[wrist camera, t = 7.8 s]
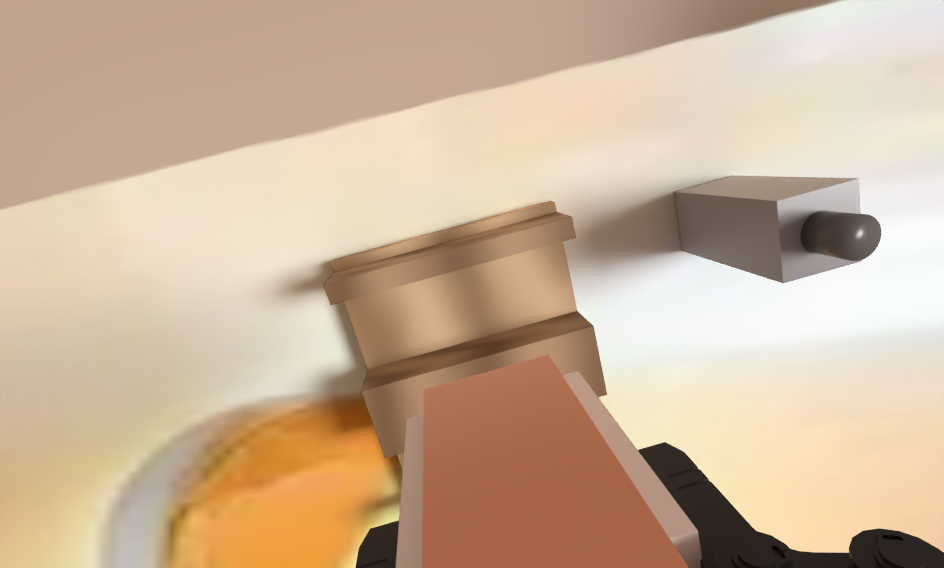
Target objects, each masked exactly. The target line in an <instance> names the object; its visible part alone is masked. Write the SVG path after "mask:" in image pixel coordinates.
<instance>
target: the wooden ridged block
mask: <svg viewBox="0 0 944 568" xmlns="http://www.w3.org/2000/svg"><path fill="white" fill-rule="evenodd" d="M574 238H576V236H575V231H574V226H573V220H572V217H571V216H568V215H565V214H561V213H558V212H557V211H556V206H555V202H552V201H549V202H546V203H542V204H538V205H534V206H531V207H527V208H523V209H520V210H516V211H512V212H509V213H505V214H501V215H498V216H494V217H490V218H486V219H483V220H479V221H475V222H472V223H468V224H464V225H461V226H457V227H453V228H450V229H446V230H442V231H438V232H435V233H431V234H427V235H424V236H420V237H416V238H413V239H409V240H405V241H402V242H398V243H394V244H391V245H387V246H383V247H379V248H376V249H372V250H368V251H365V252H361V253H357V254H354V255H350V256H346V257H343V258H339V259H335V260H333V261H332V262H331V266H332V268H333V271H334V273H333V274H332V275H331V276H330V278H329V279H328V280H327V281H326V282H325V283H324V284H323V285H324V288H325V291H326V293H327V296H328V299H329V302H330V305H333V304H336V303H340V302H344V303H345V306H346V309H347V312H348V315H349V317H350V320H351V323H352V326H353V329H354V332H355V335H356V338H357V341H358V343H359V346H360V349H361V352H362V355H363V358H364V361H365V364H366V367H367V369H368V370H367V373H366V377H365V380H364V384H363V387H362V391H361V392H362V395H363V397H364V400H365V403H366V406H367V409H368V412H369V414H370V417H371V420H372V423H373V426H374V428H375V431H376V434H377V437H378V440H379V442H380V445H381V448H382V451H383V454H384V457H385V458H388V457H391V456H394V455H397V456H398V459H399V462H400V465H401V468H402V470H403V463H404V450H405V437H406V423H407V419H409V418H412V417H416V416H419V415H423V414H424V389H428V388H432V387H435V386H439V385H442V384H446V383H449V382H453V381H456V380H460V379H463V378H467V377H470V376H474V375H478V374H481V373H485V372H488V371H492V370H495V369H499V368H502V367H506V366H509V365H513V364H517V363H520V362H524V361H527V360H531V359H534V358H538V357H541V356H545V355H548V354H549V356H550V357H551V359H552V360H553V362H554V363H555V365H556V366H557V368H558V369H559V371H560V372H561V374H562V375H565V374H568V373H572V372H575V371H579V373H580V374H581V375H582V377H583V378H584V379H585V381H586V382H587V383H588V385H589V386H590V387H591V389H592V390H593V391H594V393H595V394H596V395H597V397H600V396H604V395H607V392H606V387H605V382H604V377H603V372H602V367H601V362H600V357H599V352H598V347H597V342H596V337H595V332H594V327H593V325H592V324H591V323H589V322H588V321H587V320H586V319H585V318H584V317H583V316H582V315H581V314H580V313H579V312H578V311H577V308H576V303H575V298H574V294H573V289H572V284H571V279H570V274H569V269H568V265H567V260H566V255H565V250H564V245H563V241H566V240H570V239H574Z"/></svg>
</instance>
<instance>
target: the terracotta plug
mask: <svg viewBox="0 0 944 568" xmlns="http://www.w3.org/2000/svg"><path fill="white" fill-rule="evenodd" d="M422 568H689V567H688V566H687V564H686V563H685V561H684V560H683V558H682V557H681V555H680V554H679V552H678V551H677V549H676V547H675V546H674V544H673V543H672V541H671V540H670V538H669V537H668V535H667V534H666V532H665V531H664V529H663V528H662V526H661V525H660V523H659V522H658V520H657V519H656V517H655V516H654V514H653V512H652V511H651V509H650V508H649V506H648V505H647V503H646V502H645V500H644V499H643V497H642V496H641V494H640V493H639V491H638V490H637V488H636V487H635V485H634V484H633V482H632V481H631V479H630V477H629V476H628V474H627V473H626V471H625V470H624V468H623V467H622V465H621V464H620V462H619V461H618V459H617V458H616V456H615V455H614V453H613V452H612V450H611V449H610V447H609V446H608V444H607V442H606V441H605V439H604V438H603V436H602V435H601V433H600V432H599V430H598V429H597V427H596V426H595V424H594V423H593V421H592V420H591V418H590V417H589V415H588V414H587V412H586V411H585V409H584V407H583V406H582V404H581V403H580V401H579V400H578V398H577V397H576V395H575V394H574V392H573V391H572V389H571V388H570V386H569V385H568V383H567V382H566V380H565V379H564V377H563V376H562V374H561V372H560V371H559V369H558V368H557V366H556V365H555V363H554V362H553V360H552V359H551V357H550V356H549V354H548V355H545V356H541V357H538V358H534V359H531V360H527V361H524V362H520V363H517V364H513V365H509V366H506V367H502V368H499V369H495V370H492V371H488V372H485V373H481V374H478V375H474V376H470V377H467V378H463V379H460V380H456V381H453V382H449V383H446V384H442V385H439V386H435V387H432V388H428V389H424V440H423V556H422Z"/></svg>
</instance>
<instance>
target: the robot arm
mask: <svg viewBox="0 0 944 568" xmlns="http://www.w3.org/2000/svg"><path fill="white" fill-rule="evenodd" d="M562 376H563V377H564V379H565V380H566V382H567V383H568V385H569V386H570V388H571V389H572V391H573V392H574V394H575V395H576V397H577V398H578V400H579V401H580V403H581V404H582V406H583V407H584V409H585V411H586V412H587V414H588V415H589V417H590V418H591V420H592V421H593V423H594V424H595V426H596V427H597V429H598V430H599V432H600V433H601V435H602V436H603V438H604V439H605V441H606V442H607V444H608V446H609V447H610V449H611V450H612V452H613V453H614V455H615V456H616V458H617V459H618V461H619V462H620V464H621V465H622V467H623V468H624V470H625V471H626V473H627V474H628V476H629V477H630V479H631V481H632V482H633V484H634V485H635V487H636V488H637V490H638V491H639V493H640V494H641V496H642V497H643V499H644V500H645V502H646V503H647V505H648V506H649V508H650V509H651V511H652V512H653V514H654V516H655V517H656V519H657V520H658V522H659V523H660V525H661V526H662V528H663V529H664V531H665V532H666V534H667V535H668V537H669V538H670V540H671V541H672V543H673V544H674V546H675V547H676V549H677V551H678V552H679V554H680V555H681V557H682V558H683V560H684V561H685V563H686V564H687V566H688V567H689V568H944V553H943V552H942V551H941V550H939V549H938V548H936V547H934V546H932V545H930V544H929V543H927V542H925V541H923V540H922V539H920V538H918V537H915V536H912V535H909V534H906V533H903V532H900V531H894V530H886V529H873V530H866V531H862V532H861V533H859V534H857V535H856V536H854V537H853V538H852V541H851V544H850V547H849V553H812V552H801V551H796V550H792V549H790V548H789V547H788V546H787V545H786V544H784V543H783V542H781V541H779V540H778V539H776V538H774V537H772V536H771V535H767V534H764V533H761V532H757V531H756V530H755V529H753V528H752V527H751V525H750V524H749V523H748V522H747V521H746V520H745V519H744V518H743V517H742V516H741V514H740V513H739V512H738V511H737V510H736V509H735V508H734V507H733V506H732V505H731V503H730V502H729V501H728V500H727V499H726V498H725V497H724V496H723V495H722V493H721V492H720V491H719V490H718V489H717V488H716V487H715V486H714V485H713V484H712V482H709V480H708V478H707V477H706V476H705V475H704V474H703V473H702V471H701V470H698V468H697V466H696V465H695V464H694V463H693V461H692V460H691V459H690V458H689V457H688V456H687V455H686V454H685V453H684V452H683V451H681V450H679V449H677V448H675V447H673V446H671V445H669V444H668V443H666V442H664V443H661V444H657V445H654V446H650V447H647V448H643V449H640V450H637V449H636V447H635V446H634V445H633V443H632V442H631V441H630V439H629V438H628V437H627V435H626V434H625V433H624V431H623V430H622V429H621V427H620V426H619V425H618V423H617V422H616V421H615V419H614V418H613V417H612V415H611V414H610V413H609V411H608V410H607V409H606V407H605V406H604V405H603V403H602V402H601V401H600V399H599V398H598V397H597V395H596V394H595V393H594V391H593V390H592V389H591V387H590V386H589V385H588V383H587V382H586V381H585V379H584V378H583V377H582V375H581V374H580V373H579V371H575V372H572V373H568V374H565V375H562ZM423 440H424V414H423V415H419V416H416V417H412V418H409V419H407V423H406V437H405V450H404V463H403V476H402V490H401V503H400V516H399V521H395V522H392V523H388V524H385V525H382V526H378V527H375V528H371V529H370V530H369V532H368V534H367V535H366V537H365V539H364V540H363V542H362V544H361V546H360V547H359V552H358V557H357V563H356V568H422V556H423Z"/></svg>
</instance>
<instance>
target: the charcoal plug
mask: <svg viewBox="0 0 944 568" xmlns="http://www.w3.org/2000/svg"><path fill="white" fill-rule="evenodd" d="M674 196H675V203H676V211H677V218H678V225H679V232H680V240H681V247H682V251H684V252H687V253H690V254H693V255H697V256H700V257H703V258H706V259H709V260H712V261H715V262H719V263H722V264H725V265H728V266H731V267H734V268H737V269H741V270H744V271H747V272H750V273H753V274H756V275H759V276H763V277H766V278H769V279H772V280H775V281H778V282H781V283H786V282H789V281H793V280H796V279H800V278H803V277H807V276H810V275H814V274H818V273H821V272H825V271H828V270H832V269H835V268H839V267H842V266H846V265H850V264H853V263H857V262H860V261H862V259H864V258H866V257H868V256H869V255H870V254H872V253H873V251H874V250H875V249H876V247H877V246H878V244H879V241H880V238H881V227H880V224H879V222H878V221H877V220H876V219H875V218H874V217H872V216H870V215H865V214H860V193H859V179H857V178H811V177H766V176H730V177H726V178H723V179H719V180H715V181H712V182H708V183H704V184H701V185H697V186H693V187H690V188H686V189H682V190H679V191H675V192H674Z"/></svg>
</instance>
